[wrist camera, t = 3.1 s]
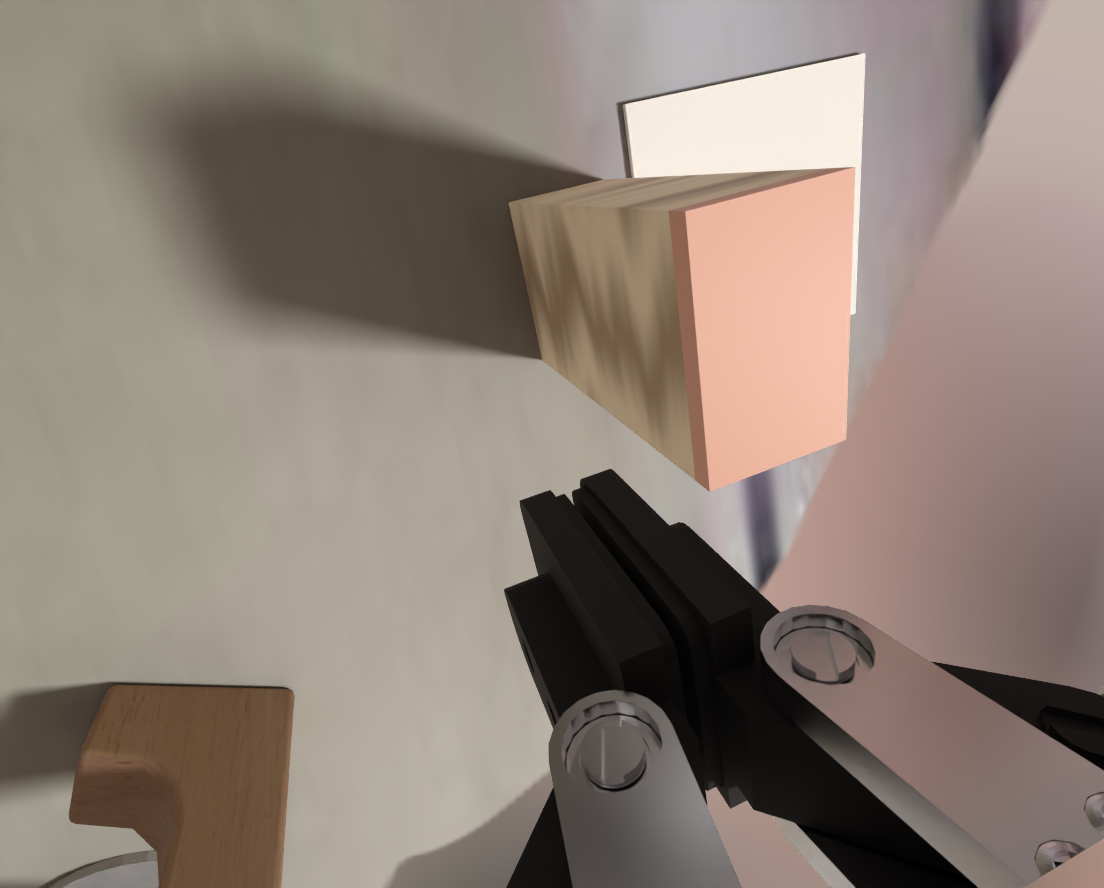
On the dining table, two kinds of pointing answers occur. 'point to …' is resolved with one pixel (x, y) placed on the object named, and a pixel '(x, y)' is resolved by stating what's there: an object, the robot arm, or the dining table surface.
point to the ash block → (700, 309)
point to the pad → (756, 128)
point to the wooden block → (192, 779)
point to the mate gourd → (116, 873)
